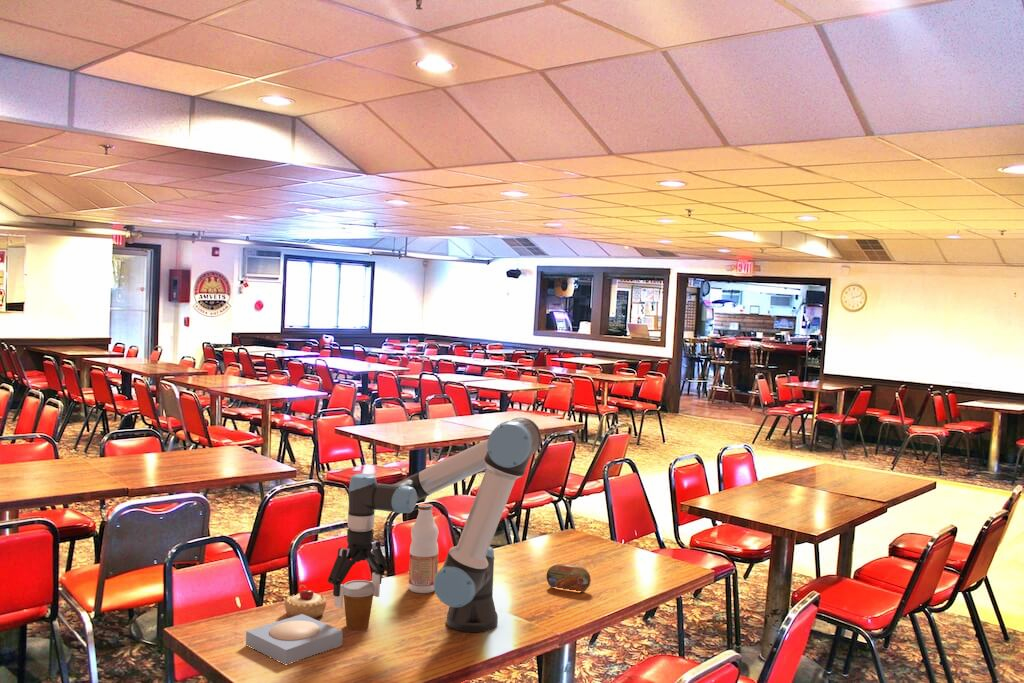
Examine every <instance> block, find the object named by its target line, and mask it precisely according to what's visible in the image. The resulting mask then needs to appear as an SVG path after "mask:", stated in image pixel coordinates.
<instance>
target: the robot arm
mask: <svg viewBox="0 0 1024 683" xmlns="http://www.w3.org/2000/svg"><path fill="white" fill-rule="evenodd" d="M541 444H542V433H541V430H540V428H539V425H537V424H536V423H535V422H534V421H533V420H531V419H530V418H527V417H516V418H513V419H511V420H507V421H503V422H501V423H500V424H498V425H497V426H496V427H495V428H494V429H493V430H492V431H491V432H490V435H489V436H488V439H485V440H483V441H481V442H479V443H477V444H475V445H473V446H471V447H469V448H466V449H465V450H462V451H461V452H460V451H459V452H458V453H456V454H453V455H452V456H450V457H448V458H446V459H443V460H442V461H441V460H440V461H439V462H437V463H435V464H433V465H431V466H429V467H427V468H425V469H423V470H421V471H419V472H417V473H414V474H412V475H410V476H407V477H406V478H404V479H401V480H400V481H398V482H396V483H394V484H388V483H387V484H386V483H381V482H377V477H376V475H374V474H372V473H371V474H370V473H356V474H354V475H351V477H350V478H349V487H348V510H347V511H348V512H347V528H348V529H347V532H346V542H347V548H343V547H342V548H341V547H339V548H338V550H337V556H336V559H335V561H334V564H333V566H332V569H331V571H330V574H329V576H328V578H327V583H329V584H331V585H333V592H332V593H333V594H332V595H333V596H334V604H333V605H334V607H336V608H338V609H343V607H344V604H343V603H344V594H343V588H344V584H342V583H343V582H344V580H345V578H346V577H347V576H348V574H349V572H350V570H351V569H352V568H353V566H354V565H356V563H359V562H361V561H366V562H367V563H368V565H370V567H371V568H372V570H373V571H374V572H372V573H371V582H372V583H373V584H374V587H375V591H374V594H373V597H375V598H376V597H377V598H378V597H380V591H381V590H380V588H381V587H380V586H381V584H382V578H383V577H382V576H383V575H384V574H385V572H386V571H388V568H389V567H388V565H387V561H386V560H385V556H384V554H383V552H382V547H381V541H378V540H375V539H374V535H375V534H374V527H375V512H376V511H382V512H392V513H397V514H411V513H412V512H413V511H414V510H415V507H416V505H417V502H418V501H420V500H422V499H424V498H426V497H428V496H429V497H430V495H432V494H435V493H436V492H439V491H441V490H444V489H445V488H446V489H447V488H448V487H449V486H452V485H454V484H456V483H458V482H460V481H463V480H465V479H467V478H469V477H472V476H474V475H475V474H477V473H480V472H481V471H484V470H485V472H484V474H483V476H482V479H481V482H480V485H479V487H478V491H477V493H476V494H475V498H474V501H473V503H472V505H471V508H470V511H469V513H468V515H467V519H466V522H465V523H464V526H463V529H462V532H461V535H460V537H459V540H458V541H457V545H455V546H452V547H450V549H449V550H448V553H447V556H446V558H445V561H444V563H443V566H442V568H440V570H439V569H438V573H437V575H436V577H435V580H434V590H435V591H434V593H435V594H436V596H437V598H438V599H439V601H440V602H441V603H442V604H444V605H446V606H448V607H449V608H448V611H447V613H446V620H445V621H446V624H447V626H448V627H449V628H451V629H453V630H456V631H460V632H465V633H480V632H486V631H489V630H492V629H494V628H496V627H497V625H498V621H499V618H498V613H497V610H496V607H495V602H494V598H493V595H494V594H493V592H494V591H493V590H494V568H495V566H494V564H495V550H494V548H493V547H492V546H491V545H492V544H491V543H492V542H493V539H494V537H495V533H496V531H497V529H498V526H499V523H500V521H501V518H502V515H503V513H504V510H505V509H506V505H507V503H508V500H509V498H510V495H511V492H512V489H513V488H514V485H515V482H516V480H518V479H519V478H522V477H524V474H525V472H526V469H527V468H528V464H529V462H530V459H531V457H532V456H533V455H535V453H537V452H538V450H539V448H540V446H541ZM371 551H372V552H373V553H371ZM373 554H374V555H373ZM374 557H375V558H374Z"/></svg>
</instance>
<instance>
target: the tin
mask: <svg viewBox="0 0 1024 683" xmlns="http://www.w3.org/2000/svg"><path fill="white" fill-rule="evenodd" d="M546 582H547V583H548V585H549V587H550V588H552V587H557V588H563V589H569V590H576V591H581V592H582V593H584V592H586V590H588V589H589V587H590V585H591V582H592V580H591V575H590V572H589V571H588V570H587V569H585V568H584V567H583V566H577V565H567V564H561V563H560V564H559V563H558V564H554V565H552V566H550V567H549V568H548V569H547V571H546Z"/></svg>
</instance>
